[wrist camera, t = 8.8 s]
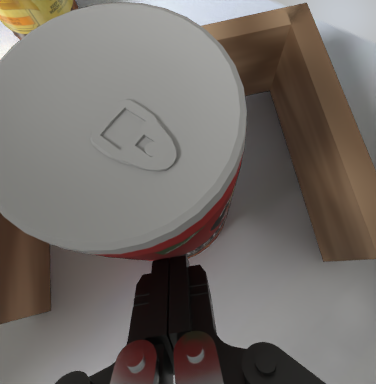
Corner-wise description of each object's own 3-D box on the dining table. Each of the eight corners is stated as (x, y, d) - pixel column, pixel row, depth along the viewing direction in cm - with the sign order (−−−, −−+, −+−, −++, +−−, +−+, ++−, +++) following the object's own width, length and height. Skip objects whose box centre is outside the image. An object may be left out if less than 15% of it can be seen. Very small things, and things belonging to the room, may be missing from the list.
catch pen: (32, 314, 16) (-53, 335, 11) (32, 126, 20) (-32, 77, 15) (343, 258, 16) (409, 253, 10) (281, 73, 20) (306, 2, 14)
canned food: (203, 282, 16) (183, 310, 6) (91, 233, 18) (-92, 183, 7) (244, 171, 18) (289, 31, 7) (139, 135, 19) (50, -23, 9)
